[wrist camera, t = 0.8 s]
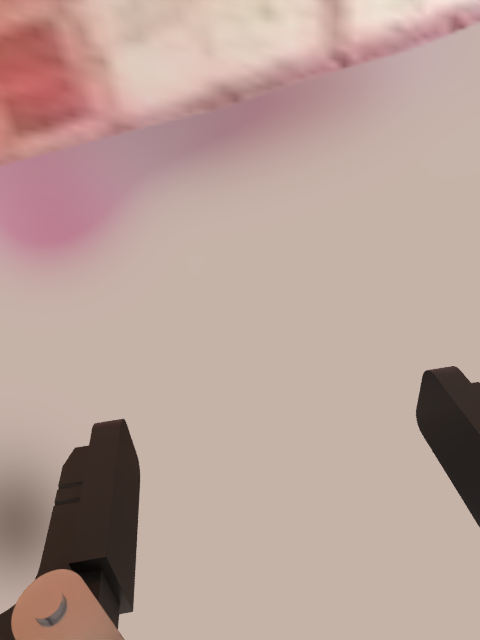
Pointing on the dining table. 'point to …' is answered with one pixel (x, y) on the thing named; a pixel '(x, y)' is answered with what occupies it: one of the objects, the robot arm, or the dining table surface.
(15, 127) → the dining table surface
